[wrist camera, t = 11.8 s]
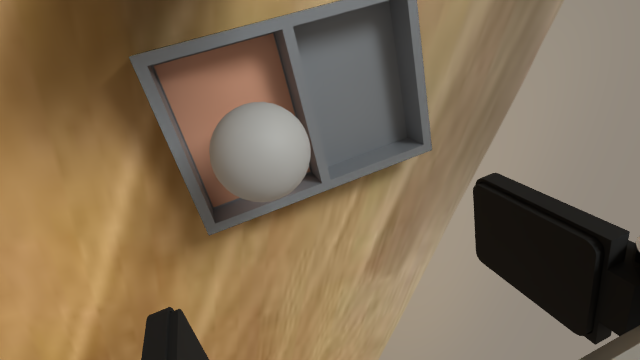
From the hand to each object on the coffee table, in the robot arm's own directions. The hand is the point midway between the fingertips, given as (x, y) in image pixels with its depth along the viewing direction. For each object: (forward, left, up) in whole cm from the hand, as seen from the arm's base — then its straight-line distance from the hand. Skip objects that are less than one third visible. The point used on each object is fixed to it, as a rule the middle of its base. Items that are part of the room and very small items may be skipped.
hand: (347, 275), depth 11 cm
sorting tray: (-5, 0, -22) cm, 23 cm away
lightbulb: (0, 0, -21) cm, 21 cm away
